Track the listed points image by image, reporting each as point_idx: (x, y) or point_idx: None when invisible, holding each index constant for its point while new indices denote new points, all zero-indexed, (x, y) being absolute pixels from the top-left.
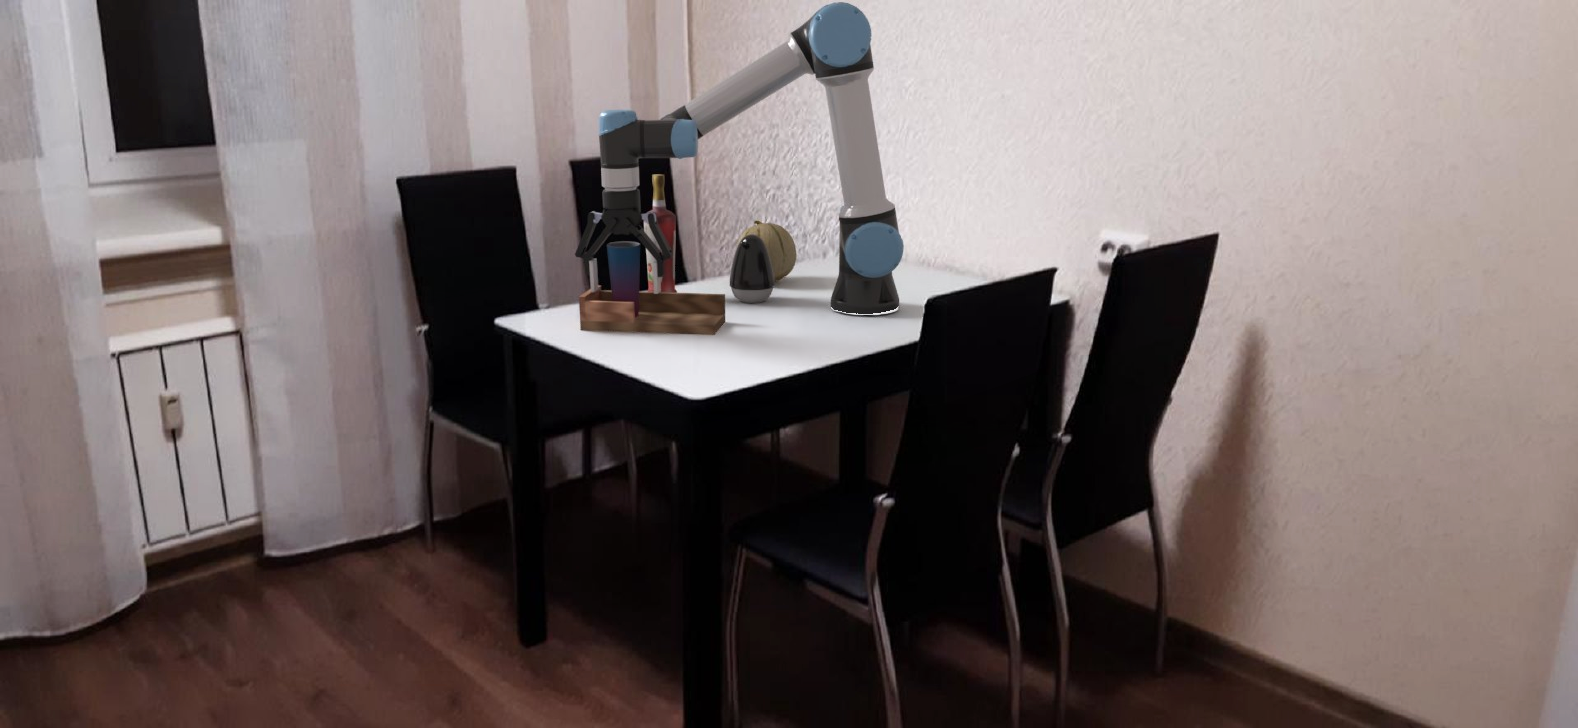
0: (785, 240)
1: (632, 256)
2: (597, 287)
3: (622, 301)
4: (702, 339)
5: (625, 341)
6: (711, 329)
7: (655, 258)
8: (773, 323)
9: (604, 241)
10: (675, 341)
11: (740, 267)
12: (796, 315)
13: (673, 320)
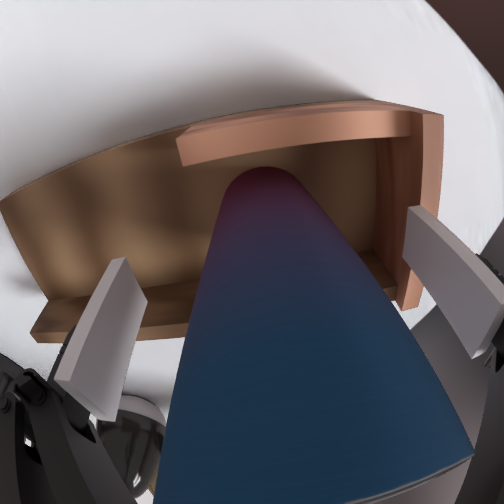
0: (149, 489)
1: (173, 417)
2: (408, 253)
3: (260, 185)
4: (10, 148)
5: (167, 18)
6: (7, 196)
7: (52, 403)
8: (12, 306)
9: (469, 468)
10: (43, 95)
11: (123, 446)
12: (30, 349)
13: (90, 205)
